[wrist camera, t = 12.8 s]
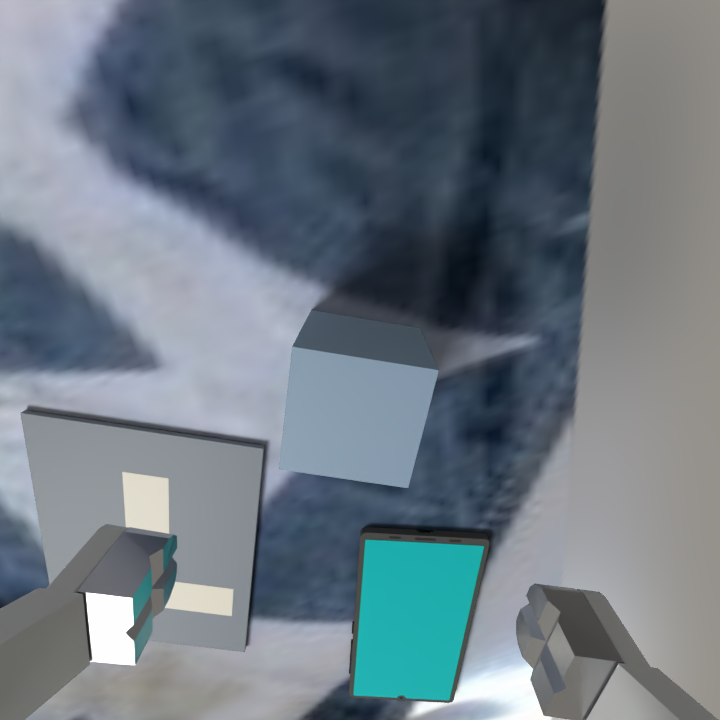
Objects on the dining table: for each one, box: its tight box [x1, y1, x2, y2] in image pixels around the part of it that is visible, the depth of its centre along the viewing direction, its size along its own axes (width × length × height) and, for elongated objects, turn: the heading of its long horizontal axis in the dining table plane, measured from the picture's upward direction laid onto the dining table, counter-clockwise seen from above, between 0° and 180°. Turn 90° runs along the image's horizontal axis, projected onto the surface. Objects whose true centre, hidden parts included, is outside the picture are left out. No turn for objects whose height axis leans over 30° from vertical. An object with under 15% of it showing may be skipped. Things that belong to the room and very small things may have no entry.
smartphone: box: [349, 527, 490, 703], centre depth 25 cm, size 7×1×15 cm
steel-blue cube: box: [279, 310, 439, 488], centre depth 16 cm, size 5×5×5 cm
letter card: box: [21, 410, 265, 652], centre depth 23 cm, size 16×12×1 cm
